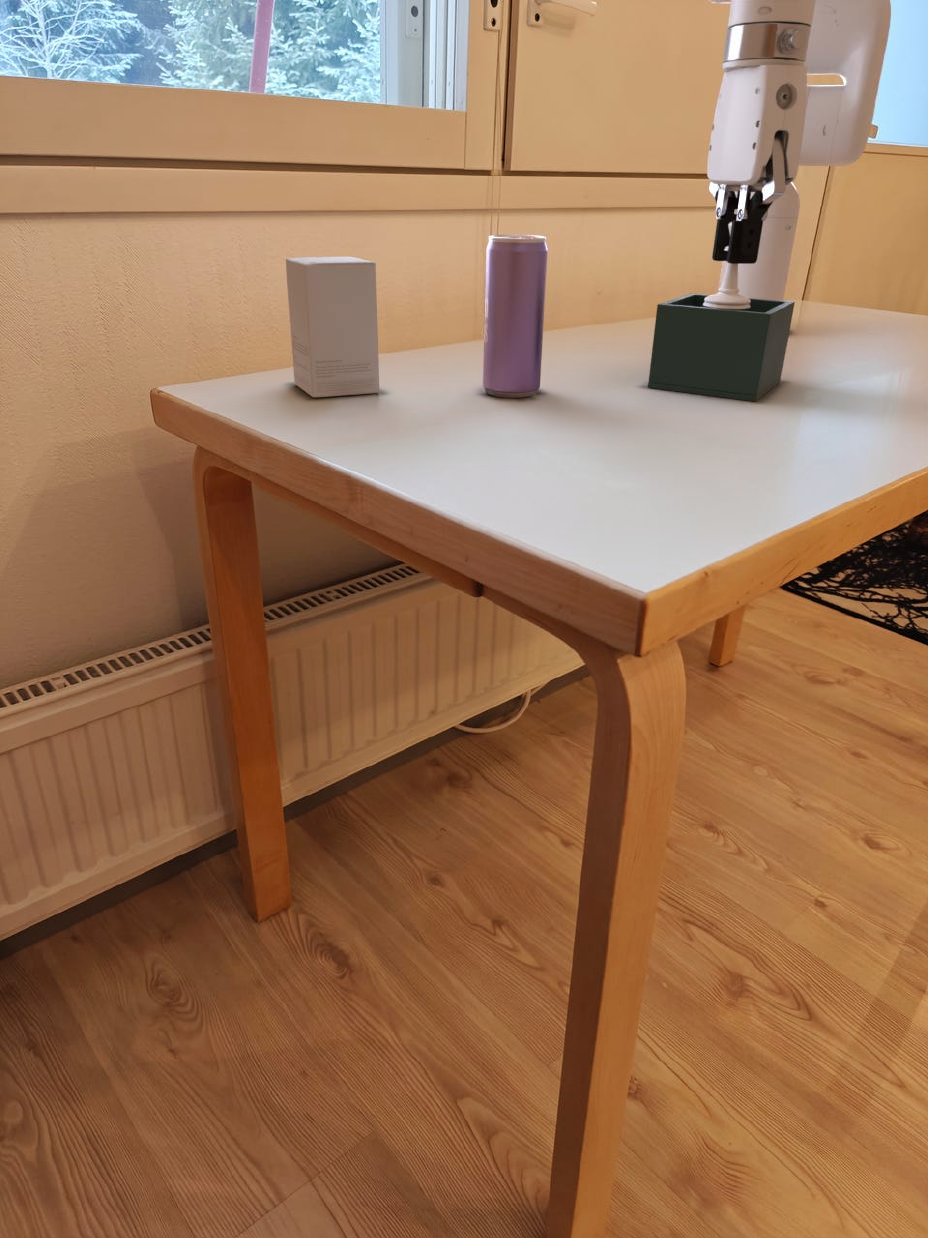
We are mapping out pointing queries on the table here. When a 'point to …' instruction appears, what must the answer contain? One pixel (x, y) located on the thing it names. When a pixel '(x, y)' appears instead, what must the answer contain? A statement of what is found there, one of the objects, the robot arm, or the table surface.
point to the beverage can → (514, 314)
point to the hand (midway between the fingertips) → (733, 260)
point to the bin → (719, 347)
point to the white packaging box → (333, 325)
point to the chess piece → (728, 289)
